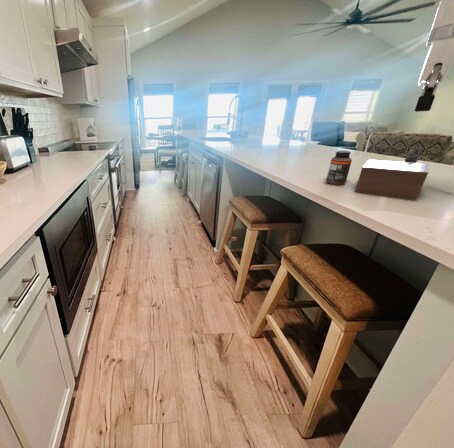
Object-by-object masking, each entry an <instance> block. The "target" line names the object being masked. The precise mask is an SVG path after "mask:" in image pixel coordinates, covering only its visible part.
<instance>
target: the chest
mask: <svg viewBox="0 0 454 448" xmlns="http://www.w3.org/2000/svg"><path fill="white" fill-rule="evenodd" d="M427 176H428V175H426V174H415V173H404V172H392V171H381V170H370V169H362V168H361V170H360V173H359V176H358V180H357V182H356V187H355V190H354V192H355V193H360V194H361V193H362V194H368V195H376V196H383V197H390V198H397V199H405V200H409V201H410V200H412V201H417V200H418V197H419V195H420V193H421V190H422V189H423V186H424V184H425V181H426V179H427Z"/></svg>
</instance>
